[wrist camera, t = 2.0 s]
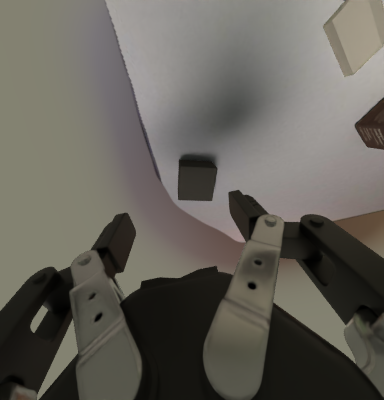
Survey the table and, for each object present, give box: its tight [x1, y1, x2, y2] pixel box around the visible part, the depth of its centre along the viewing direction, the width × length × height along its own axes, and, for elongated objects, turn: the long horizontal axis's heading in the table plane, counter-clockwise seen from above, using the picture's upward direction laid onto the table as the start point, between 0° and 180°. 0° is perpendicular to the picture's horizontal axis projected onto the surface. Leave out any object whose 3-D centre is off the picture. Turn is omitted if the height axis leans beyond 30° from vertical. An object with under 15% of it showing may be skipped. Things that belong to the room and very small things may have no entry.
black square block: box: [178, 159, 217, 201], centre depth 25 cm, size 6×6×4 cm
